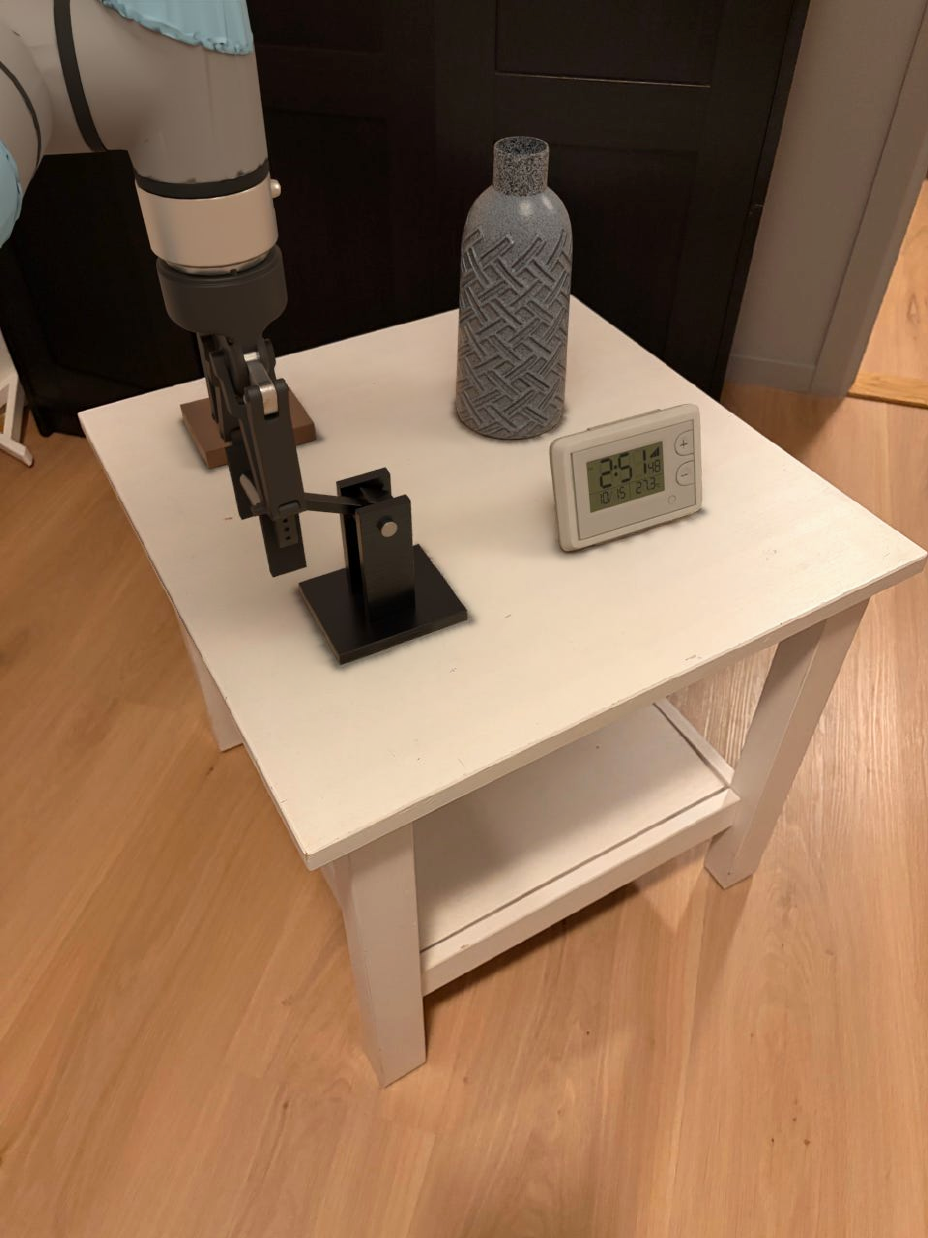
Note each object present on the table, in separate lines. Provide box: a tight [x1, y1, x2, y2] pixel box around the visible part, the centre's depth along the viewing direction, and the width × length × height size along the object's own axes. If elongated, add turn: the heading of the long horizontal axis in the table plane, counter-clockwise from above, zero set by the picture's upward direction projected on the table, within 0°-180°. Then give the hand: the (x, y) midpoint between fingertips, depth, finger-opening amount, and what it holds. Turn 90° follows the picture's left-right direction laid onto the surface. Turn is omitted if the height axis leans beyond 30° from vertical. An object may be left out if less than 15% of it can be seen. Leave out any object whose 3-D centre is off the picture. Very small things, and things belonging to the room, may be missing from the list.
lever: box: [240, 471, 395, 520], centre depth 72 cm, size 12×5×2 cm, turn 117°
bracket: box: [297, 466, 468, 666], centre depth 78 cm, size 12×10×13 cm
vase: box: [455, 136, 574, 440], centre depth 95 cm, size 12×12×28 cm
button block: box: [179, 385, 317, 470], centre depth 101 cm, size 12×10×4 cm
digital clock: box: [548, 403, 703, 552], centre depth 88 cm, size 16×9×11 cm, turn 103°
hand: (271, 539), depth 72 cm, fingers open, 7 cm apart
